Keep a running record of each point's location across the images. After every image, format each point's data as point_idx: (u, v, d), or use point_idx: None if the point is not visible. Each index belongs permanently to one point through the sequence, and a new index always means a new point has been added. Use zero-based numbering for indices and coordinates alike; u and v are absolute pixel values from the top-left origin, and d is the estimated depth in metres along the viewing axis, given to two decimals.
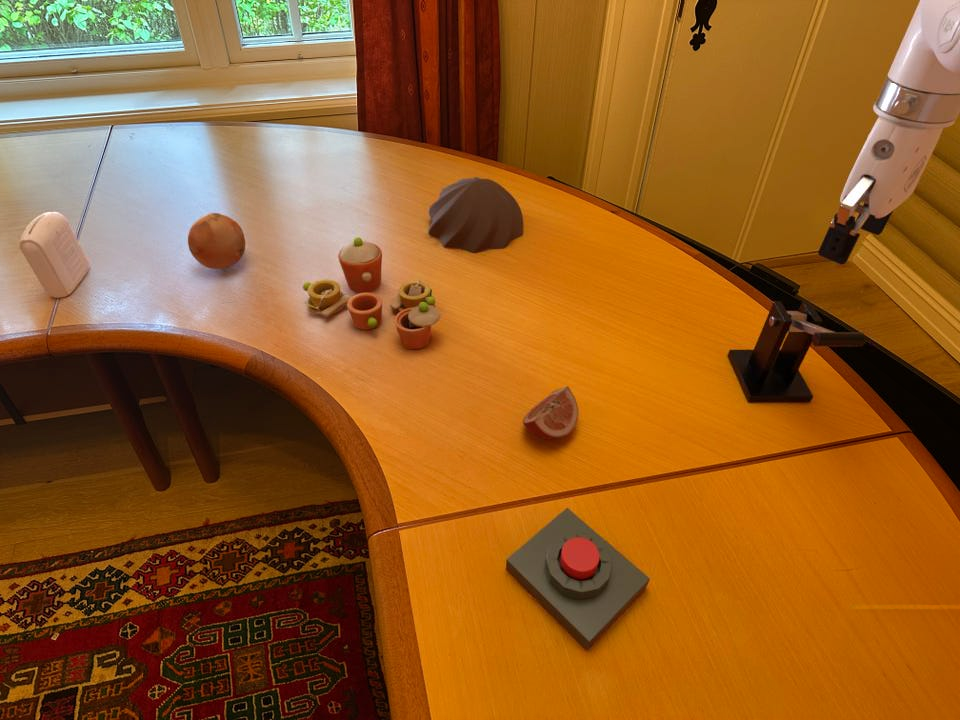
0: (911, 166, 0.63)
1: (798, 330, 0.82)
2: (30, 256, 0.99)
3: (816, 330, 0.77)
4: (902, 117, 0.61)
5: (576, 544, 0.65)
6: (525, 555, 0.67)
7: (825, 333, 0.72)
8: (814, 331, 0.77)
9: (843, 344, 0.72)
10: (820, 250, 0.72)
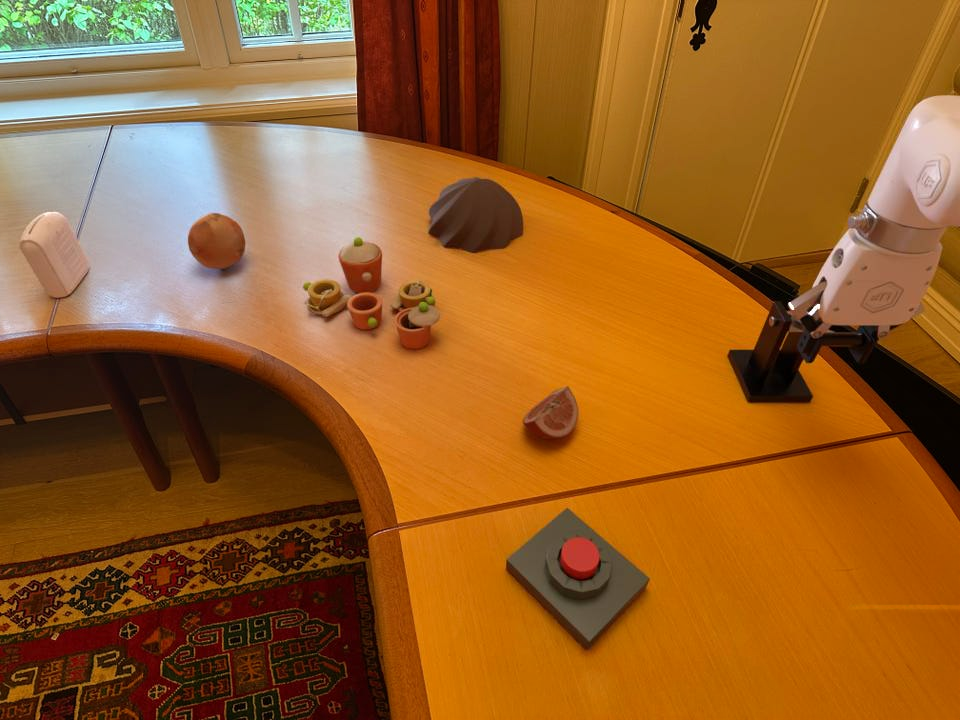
0: (862, 284, 0.64)
1: (798, 330, 0.82)
2: (30, 256, 0.99)
3: None
4: (861, 233, 0.63)
5: (576, 544, 0.65)
6: (525, 555, 0.67)
7: (825, 333, 0.72)
8: None
9: (843, 344, 0.72)
10: None
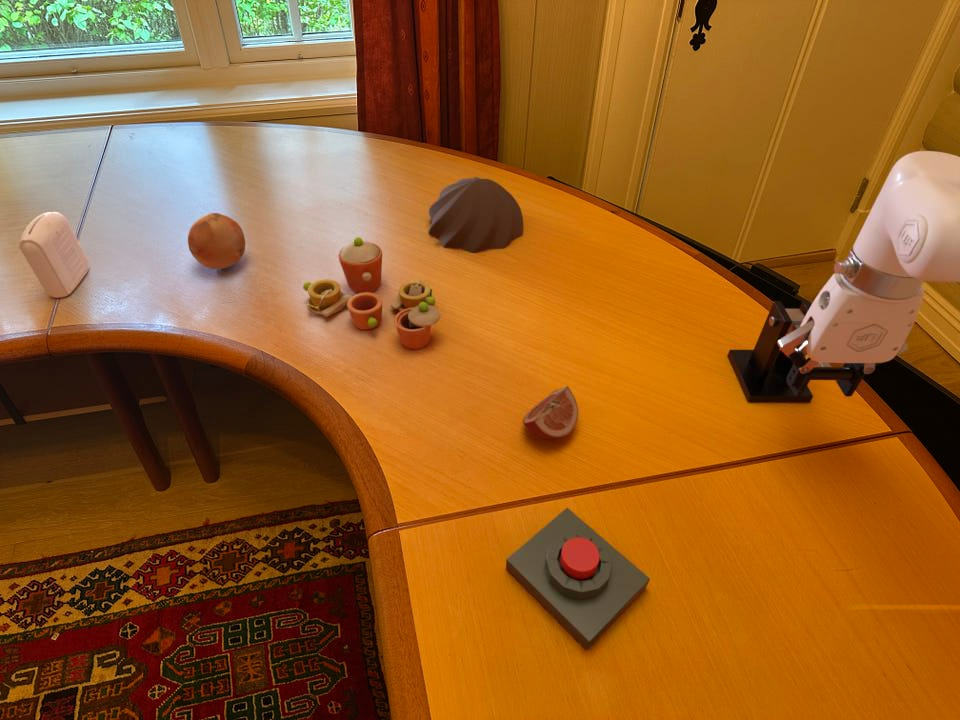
0: (847, 325, 0.66)
1: None
2: (30, 256, 0.99)
3: None
4: (846, 277, 0.65)
5: (576, 544, 0.65)
6: (525, 555, 0.67)
7: (816, 369, 0.74)
8: None
9: (831, 379, 0.75)
10: None
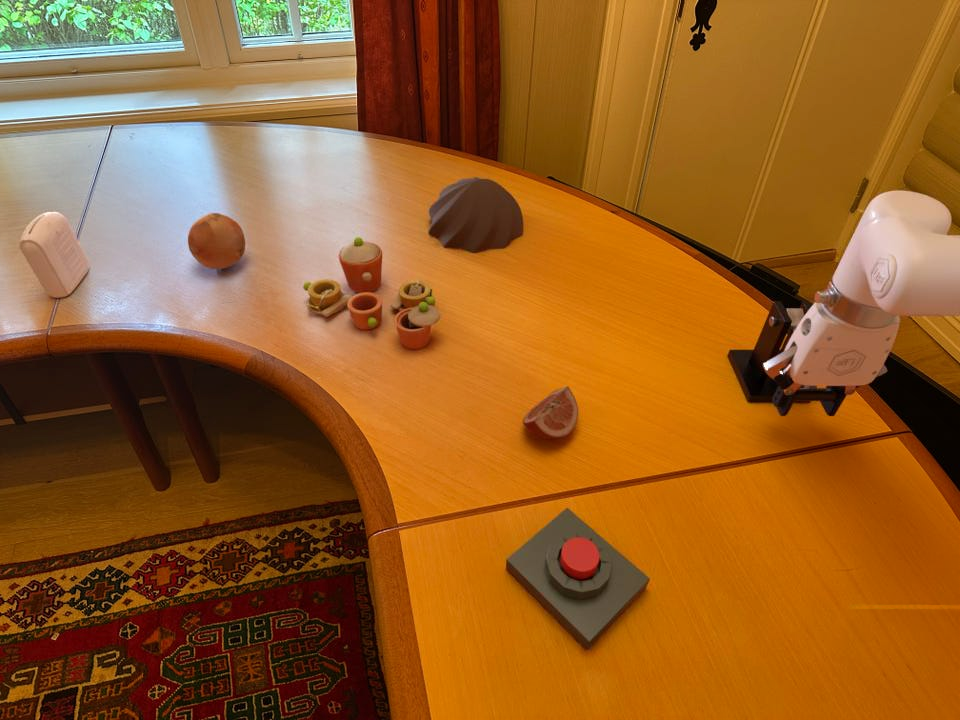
0: (828, 351, 0.70)
1: None
2: (30, 256, 0.99)
3: None
4: (826, 306, 0.69)
5: (576, 544, 0.65)
6: (525, 555, 0.67)
7: (801, 393, 0.78)
8: None
9: (814, 400, 0.78)
10: None
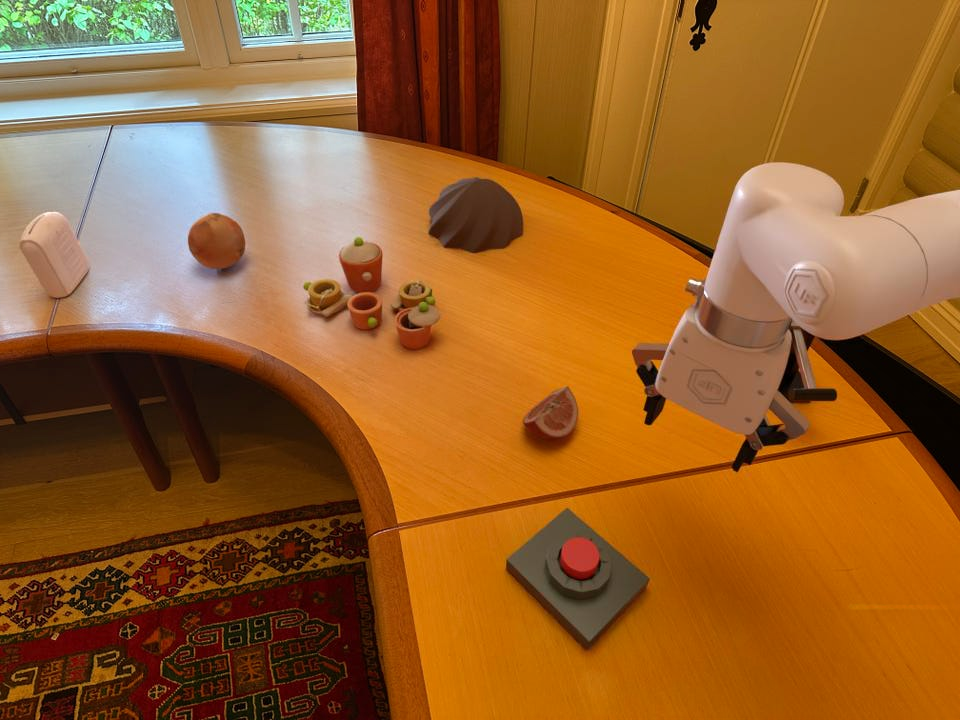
0: (685, 359, 0.55)
1: None
2: (30, 256, 0.99)
3: (801, 366, 0.80)
4: None
5: (576, 544, 0.65)
6: (525, 555, 0.67)
7: (801, 394, 0.78)
8: (800, 364, 0.80)
9: None
10: None
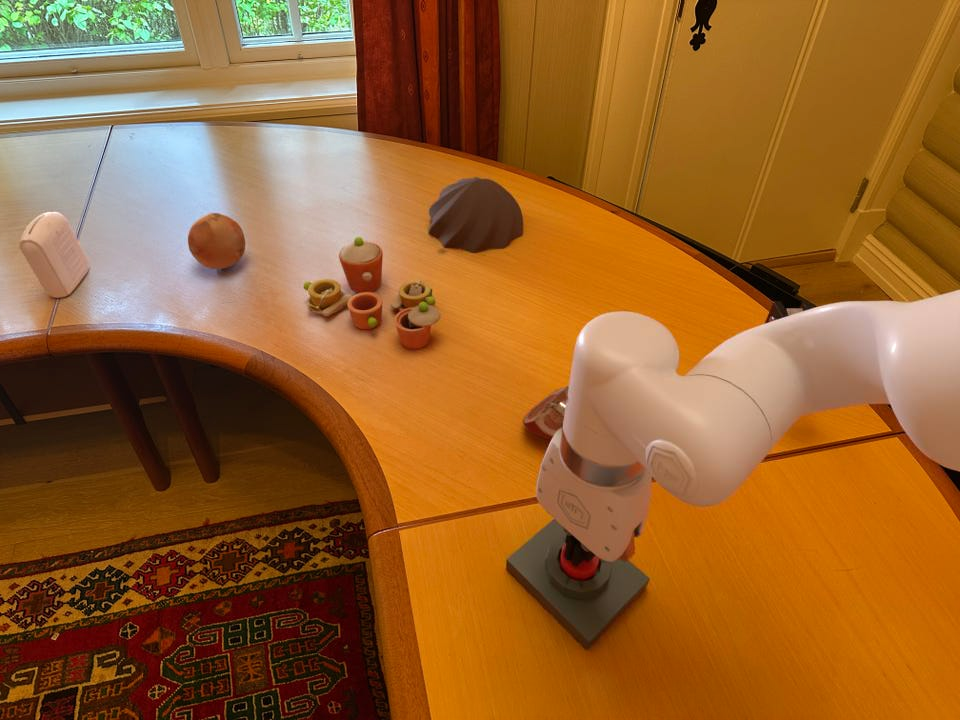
0: (553, 478, 0.55)
1: None
2: (30, 256, 0.99)
3: None
4: None
5: None
6: (525, 555, 0.67)
7: None
8: None
9: None
10: None
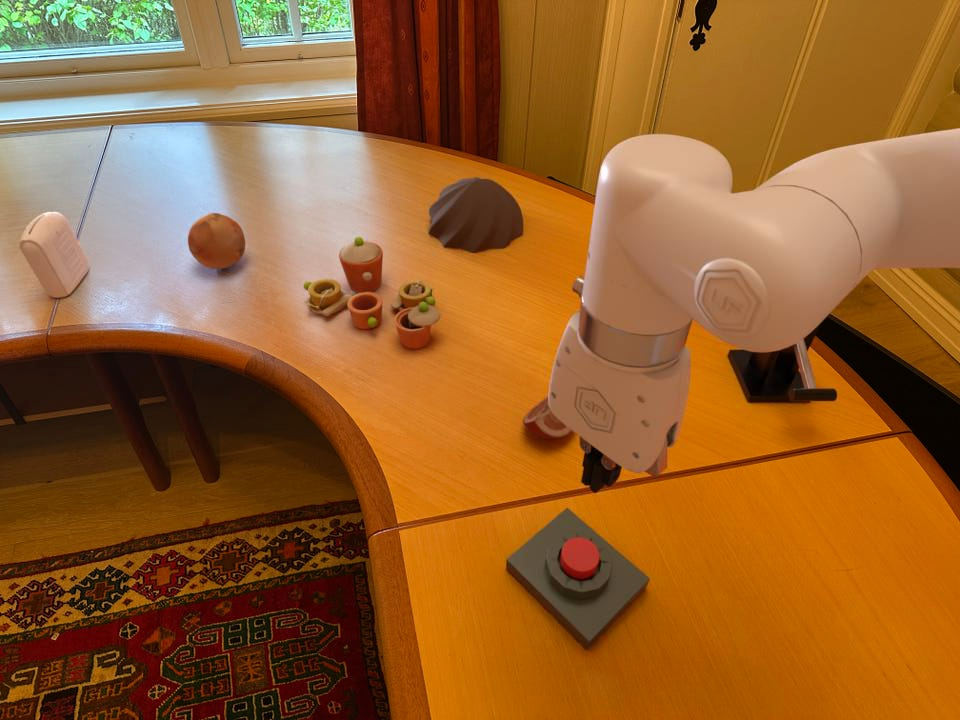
0: (569, 373, 0.46)
1: None
2: (30, 256, 0.99)
3: (801, 366, 0.80)
4: None
5: (576, 544, 0.65)
6: (525, 555, 0.67)
7: (801, 394, 0.78)
8: (800, 364, 0.80)
9: None
10: None
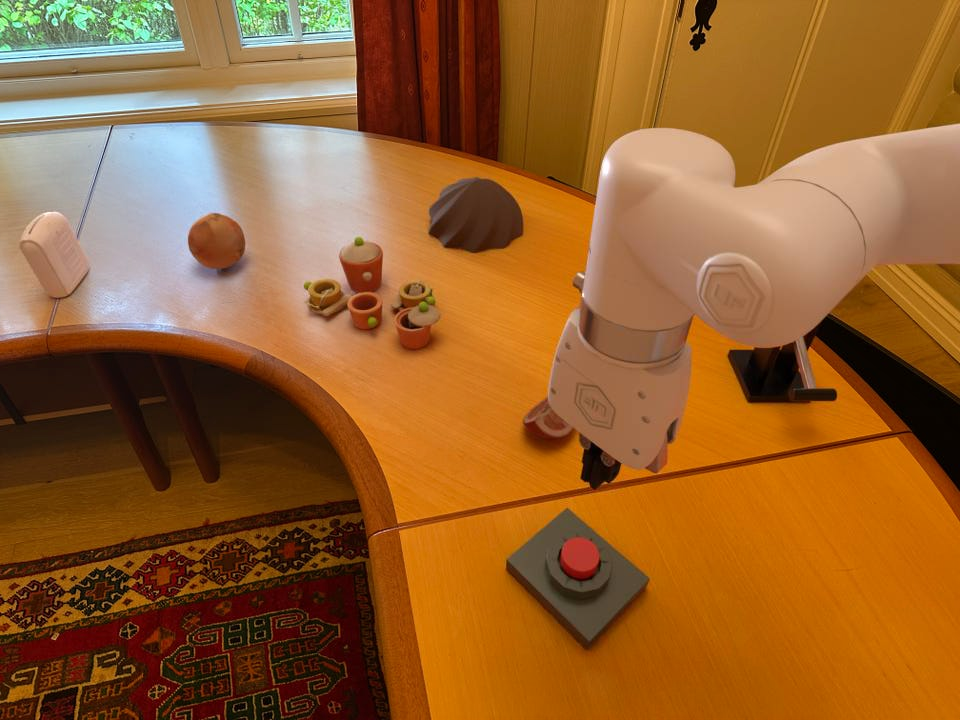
0: (570, 369, 0.46)
1: None
2: (30, 256, 0.99)
3: (801, 366, 0.80)
4: None
5: (576, 544, 0.65)
6: (525, 555, 0.67)
7: (801, 394, 0.78)
8: (800, 364, 0.80)
9: None
10: None
